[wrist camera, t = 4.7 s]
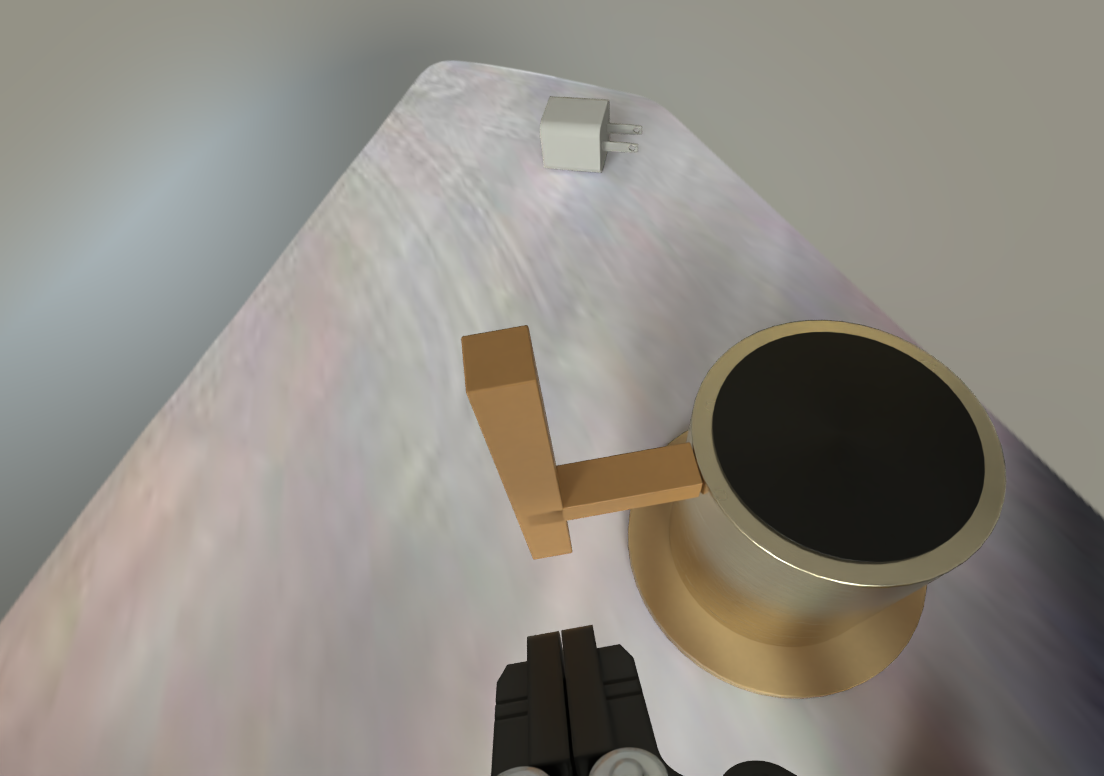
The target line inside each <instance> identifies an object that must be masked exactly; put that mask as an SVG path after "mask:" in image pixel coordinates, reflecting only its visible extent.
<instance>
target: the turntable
mask: <svg viewBox="0 0 1104 776" xmlns="http://www.w3.org/2000/svg"><path fill="white" fill-rule="evenodd" d="M687 435H688V431H686V432H684V433H683V434H681V435H680V436H678V437H677V438H676V439H674V440H673V441H671V442H670V443H669V444H668V445H667V446H671V445H676V444H682V443H686V439H687ZM672 504H673V502H668V503H662V504H656V505H651V506H645V507H640V508H634V509H631V510H630V517H629V526H628V550H629V556H630V562H631V568H632V572H633V575H634V579H635V582H636V585H637V588H638V590H639V592H640V595H641V597H642V599H643V602H644V604H645V606H646V607H647V609H648V611H649V612H650V614H651V616H652V617H653V619H654V621H655V622H656V624H657V625H658V626H659V627H660V629H661V630H662V631H663V633H664V634H665V635H666V637H667V638H668V639H669V640H670V641H671V642H672V643H673V644H674V645H675V646H676V647H677V648H678V649H679V650H680V651H681V652H682V653H683V654H684V655H685V656H687V657H688V658H689V659H690V660H692V661H693V662H694V663H695V664H697V665H698V666H699V667H701V668H702V669H704V670H705V671H707V672H709V673H710V674H712V675H713V676H715V677H717V678H718V679H721V680H723V681H725V682H727V683H729V684H731V685H734V686H736V687H738V688H741V689H744V690H747V691H750V692H754V693H757V694H761V695H766V696H772V697H778V698H794V699H804V698H814V697H823V696H827V695H831V694H834V693H838V692H842V691H845V690H848V689H850V688H853V687H855V686H857V685H859V684H862V683H864V682H866V681H868V680H869V679H871V678H872V677H874V676H875V675H877V674H878V673H880V672H881V671H883V670H884V669H885V668H886V667H887V666H888V665H889V664H890V663H892V662H893V661H894V660H895V659H896V658H897V657H898V655H899V654H900V653H901V651H902V650H903V649H904V648H905V646H906V645H907V644H908V642H909V641H910V639H911V637H912V635H913V633H914V631H915V629H916V627H917V625H918V622H919V619H920V616H921V613H922V610H923V607H924V601H925V595H926V589H927V585H925V586H924V587H922V588H920V589H919V590H917V591H915V592H913V593H912V594H910V595H908V596H906V597H905V598H903V599H901V600H900V601H898V602H896V603H894V604H893V605H891V606H889V607H887V608H886V609H884V610H882V611H881V612H879V613H877V614H875V615H874V616H872V617H870V618H868V619H867V620H865V621H863V622H861V623H860V624H858V625H856V626H855V627H853V628H851V629H849V630H848V631H846V632H844V633H842V634H841V635H839V636H837V637H835V638H833V639H830V640H828V641H826V642H822V643H818V644H815V645H811V646H801V647H780V646H774V645H768V644H764V643H760V642H757V641H754V640H750V639H748V638H746V637H743V636H741V635H739V634H737V633H735V632H733V631H731V630H730V629H728V628H726V627H725V626H723V625H722V624H720V623H719V622H718V621H716V620H715V619H714V618H712V617H711V616H710V615H709V614H708V613H707V612H706V611H705V610H704V609H703V608H702V607H701V606H700V605H699V604H698V603H697V602H696V600H695V599H694V598H693V597H692V596H691V594H690V593H689V591H688V590H687V588H686V587H685V585H684V583H683V582H682V580H681V578H680V576H679V574H678V571H677V569H676V567H675V564H674V560H673V557H672V554H671V548H670V543H669V519H670V513H671V509H672Z"/></svg>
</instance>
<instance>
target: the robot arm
mask: <svg viewBox="0 0 1104 776" xmlns="http://www.w3.org/2000/svg"><path fill="white" fill-rule="evenodd" d="M561 633H562V643H561V638H560V633H559V631H556V632H551V633H545V634H540V635H534V636H529V637H527V661H525V662H520V663H514V664H509V665H507V666H506V668H505V669H504V671H503V673H502V675H501V676H500V678H499V680H498V682H497V688H496V705H495V721H494V737H493V753H492V770H491V776H683V775H681V774H679V773H677V772H676V771H674V770H673V769H672V768H670V767H669V766H668V765H667V764H666V763H665V761H664V760H663V759H662V757H661V755H660V753H659V751H658V748H657V744H656V740H655V737H654V733H653V729H652V725H651V722H650V718H649V714H648V710H647V707H646V703H645V699H644V696H643V692H642V688H641V684H640V681H639V677H638V673H637V669H636V666H635V662H634V658H633V657H632V656H631V655H630V654H629V653H628V652H627V651H626V650H625V649H624V648H623V647H622V646H621V645H620V644H618V645H613V646H607V647H602V648H597V647H596V641H595V636H594V630H593V625H588V626H583V627H577V628H572V629H566V630H561ZM562 644H563V648H562ZM723 776H797V775H795V774H793V773H791V772H790V771H788V770H786V769H785V768H783V767H781V766H779V765H776V764H773V763H770V762H765V761H746V762H742V763H739V764H737V765H735V766H733V767H731V768H730V769H729V770H728V771H727V772H725V774H724V775H723Z"/></svg>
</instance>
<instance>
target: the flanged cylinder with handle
mask: <svg viewBox="0 0 1104 776" xmlns="http://www.w3.org/2000/svg"><path fill="white" fill-rule="evenodd" d="M461 342H462V353H463V364H464V375H465V386H466V393H467V396H468V398H469V401H470V403H471V406H472V408H473V411H474V413H475V416H476V418H477V421H478V423H479V426H480V428H481V431H482V433H483V436H484V438H485V441H486V443H487V446H488V448H489V450H490V453H491V455H492V458H493V460H494V463H495V465H496V468H497V470H498V473H499V475H500V478H501V480H502V483H503V485H504V488H505V490H506V493H507V495H508V498H509V500H510V503H511V505H512V508H513V510H514V512H515V515H516V517H517V520H518V522H519V525H520V527H521V530H522V532H523V535H524V537H525V540H526V542H527V545H528V547H529V550H530V552H531V555H532V557H533V559H540V558H546V557H551V556H557V555H562V554H568V553H572V546H571V540H570V534H569V529H568V523H567V520H572V519H578V518H584V517H589V516H595V515H600V514H606V513H612V512H617V511H623V510H628V509H634V508H640V507H645V506H651V505H656V504H662V503H668V502H673V504H672V509H671V513H670V519H669V543H670V548H671V554H672V557H673V560H674V564H675V567H676V569H677V571H678V574H679V576H680V578H681V580H682V582H683V583H684V585H685V587H686V588H687V590H688V591H689V593H690V594H691V596H692V597H693V598H694V599H695V600H696V602H697V603H698V604H699V605H700V606H701V607H702V608H703V609H704V610H705V611H706V612H707V613H708V614H709V615H710V616H711V617H712V618H714V619H715V620H716V621H718V622H719V623H720V624H722V625H723V626H725V627H726V628H728V629H730V630H731V631H733V632H735V633H737V634H739V635H741V636H743V637H746V638H748V639H750V640H754V641H757V642H760V643H764V644H768V645H774V646H780V647H801V646H811V645H815V644H818V643H822V642H826V641H828V640H830V639H833V638H835V637H837V636H839V635H841V634H842V633H844V632H846V631H848V630H849V629H851V628H853V627H855V626H856V625H858V624H860V623H861V622H863V621H865V620H867V619H868V618H870V617H872V616H874V615H875V614H877V613H879V612H881V611H882V610H884V609H886V608H887V607H889V606H891V605H893V604H894V603H896V602H898V601H900V600H901V599H903V598H905V597H906V596H908V595H910V594H912V593H913V592H915V591H917V590H919V589H920V588H922V587H924V586H925V585H927V584H929V583H931V582H932V581H934V580H936V579H938V578H939V577H941V576H943V575H944V574H946V573H948V572H950V571H951V570H953V569H954V568H956V567H957V566H959V565H961V564H962V563H964V562H965V561H966V560H968V559H969V558H970V557H971V556H972V555H973V554H974V553H975V552H976V551H978V550H979V549H980V547H981V546H982V545H983V543H984V542H985V541H986V540H987V538H988V537H989V536H990V534H991V533H992V531H993V529H994V527H995V525H996V523H997V521H998V519H999V516H1000V513H1001V509H1002V506H1003V503H1004V497H1005V488H1006V470H1005V460H1004V456H1003V451H1002V447H1001V443H1000V441H999V438H998V435H997V433H996V430H995V427H994V426H993V424H992V422H991V420H990V418H989V416H988V414H987V412H986V411H985V409H984V408H983V406H982V405H981V403H980V402H979V401H978V399H977V398H976V396H975V395H974V394H973V393H972V391H971V390H970V389H969V388H968V387H967V386H966V385H965V384H964V382H963V381H962V380H961V379H960V378H959V377H958V376H956V375H955V374H954V373H953V372H952V371H951V370H950V369H949V368H948V367H947V366H945V365H944V364H943V363H941V362H940V361H939V360H937V359H936V358H935V357H933V356H932V355H930V354H929V353H927V352H925V351H924V350H922V349H920V348H919V347H917V346H916V345H914V344H912V343H910V342H908V341H905V340H903V339H901V338H899V337H897V336H895V335H892V334H889V333H887V332H884V331H881V330H879V329H875V328H871V327H868V326H864V325H860V324H855V323H849V322H843V321H832V320H805V321H797V322H789V323H785V324H780V325H776V326H772V327H770V328H767V329H764V330H761V331H759V332H756V333H754V334H752V335H751V336H749V337H747V338H745V339H743V340H741V341H740V342H739V343H737V344H736V345H734V346H733V347H731V348H730V349H729V350H728V351H727V352H725V353H724V354H723V355H722V356H721V357H720V358H719V359H718V360H717V361H716V363H715V364H714V365H713V366H712V367H711V369H710V370H709V371H708V373H707V375H706V376H705V378H704V380H703V381H702V383H701V386H700V388H699V391H698V393H697V396H696V398H695V403H694V407H693V412H692V416H691V421H690V425H689V430H688V435H687V439H686V443H682V444H676V445H671V446H665V447H659V448H654V449H648V450H642V451H637V452H631V453H626V454H620V455H614V456H609V457H603V458H598V459H592V460H586V461H581V462H575V463H570V464H564V465H558V466H556V462H555V457H554V452H553V447H552V442H551V437H550V432H549V427H548V422H547V417H546V412H545V407H544V402H543V397H542V392H541V387H540V382H539V377H538V372H537V367H536V362H535V357H534V352H533V347H532V342H531V337H530V332H529V327H528V326H527V325H524V326H519V327H513V328H508V329H502V330H496V331H491V332H485V333H479V334H474V335H468V336H463V337H462V338H461Z"/></svg>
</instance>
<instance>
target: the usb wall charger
mask: <svg viewBox="0 0 1104 776" xmlns="http://www.w3.org/2000/svg"><path fill="white" fill-rule="evenodd" d="M634 128H639V130H640V131H639V132H635V131H634V130H633V129H634ZM610 133H615V134H629V135H634V134H642V126H638V125H631V124H615V123H610V108H609V100H605V99H588V98H570V97H552V96H550V98H549V100H548V103H547V106H546V108H545V111H544V114H543V117H542V119H541V123H540V139H541V147H542V156H543V164H544V168H547V169H560V170H572V171H585V172H598V173H601V172H602V170H603V166H604V162H605V159H606V155H607V151H613V152H638V144H634V143H627V142H614V141H609V140H610ZM629 146H634V147H635V149H634V150H631V149H629Z"/></svg>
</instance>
